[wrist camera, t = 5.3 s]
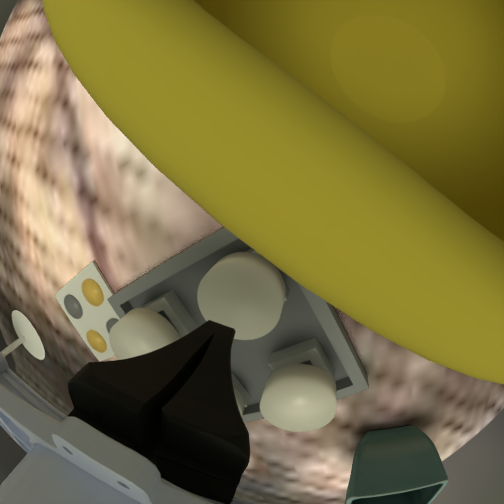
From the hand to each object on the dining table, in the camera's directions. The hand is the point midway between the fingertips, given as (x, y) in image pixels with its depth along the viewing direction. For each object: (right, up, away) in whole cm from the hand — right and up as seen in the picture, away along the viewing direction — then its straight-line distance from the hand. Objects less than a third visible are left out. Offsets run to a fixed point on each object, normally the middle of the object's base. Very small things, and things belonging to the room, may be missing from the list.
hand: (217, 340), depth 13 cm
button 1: (+5, -5, +7) cm, 10 cm away
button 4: (-5, -2, +8) cm, 10 cm away
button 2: (+2, +2, +6) cm, 7 cm away
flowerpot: (+10, +16, +1) cm, 19 cm away
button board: (0, -3, +9) cm, 10 cm away
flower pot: (+16, -16, +10) cm, 24 cm away
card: (-14, -2, +12) cm, 19 cm away
